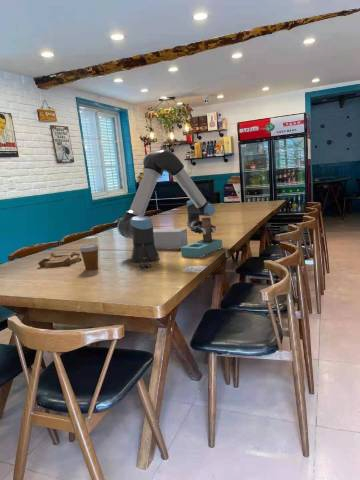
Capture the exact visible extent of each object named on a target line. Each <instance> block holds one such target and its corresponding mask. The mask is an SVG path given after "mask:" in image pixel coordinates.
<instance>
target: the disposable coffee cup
mask: <svg viewBox="0 0 360 480" xmlns="http://www.w3.org/2000/svg"><path fill="white" fill-rule="evenodd" d="M79 248H80V249H79V251H80V255H81V258H82V261H83V264H84V267H85V270H87V271H91V270H96V269H98V268H99V245H98V244H95V243H94V244H86V245H82V246H80V247H79Z"/></svg>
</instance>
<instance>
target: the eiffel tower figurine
mask: <svg viewBox="0 0 360 480" xmlns="http://www.w3.org/2000/svg"><path fill="white" fill-rule="evenodd" d="M156 265H158V266H160V265H162V263H156ZM134 268H139V269H142V270H147V269H151V268H153V264H152V263H150V261H148V260H147V257H146V255H145V250H144V244H143V260H142V262H140V264H139V265H136V266H134ZM132 270H133V268H130V269H129V271H132Z"/></svg>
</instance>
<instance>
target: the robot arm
mask: <svg viewBox="0 0 360 480" xmlns="http://www.w3.org/2000/svg"><path fill="white" fill-rule="evenodd" d="M142 165H143V169H142V171H143V176H142V179H141V180H140V183H139V185H138V188H137V190H136V193H135V196H134V197H133V200H132V203H131V206H130V208H129V210H127V211H125V213H124V215H123V217H121V218H120V219H119V220H118V223H117V232H118V234H119V235H120V236H121V237H123V238H126V239H132V253H131V256H130V257H131V259H130V260H131V262H133V263H141V262H142V260H143V244H144V250H145V255H146V257H147V260H148V261H149V262H154V261H156V260H158V259H160V255H159V252H158V248H156V247H155V244H154V233H153V229H154V223H153V219H152V218H151V216H146V215H145V212H146V210H147V208H148V205H149V202H150V200H151V197H152V195H153V192H154V189H155V188H156V185H157V183H158V180H159V179H161V178H162V177H163V175H164V172H167V173H168V174H169V176H170V177H173V178H174V179H175V181H176V182H177V184H178V185H179V186H180V187H181V190H183V192H184V193H185V194H186V196H187V197H188V198H189V200H187V201H186V210H187V221H186V226H187V228H188V230H190V232H193V233H195V234H198V235H200V234H201V235H203V234H206V230H205V229H203V228H202V220H200V216H202V217H211V216H214V214H215V212H216V207H215V205H214V204H213V203H209V202H208V201H207V199H206V197H204V195H203V193H202V192H201V191H200V190H199V188H198V187H197V185H196V183H195V182H194V181H193V179H192V178H191V177H190V175H189V173H187V171H186V170H185V165H184V163H183V162H182V161H181V160H180V158H179V157H178V156H177V155H175V153H174V152H172V151H170V150H168V149H162V150H157V151H151V152H149V153H147V154H146V155H145V156H144V158H143V163H142ZM216 230H217V229H216V226H215V225H213V224H211V233H212V234H216V232H217V231H216Z"/></svg>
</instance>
